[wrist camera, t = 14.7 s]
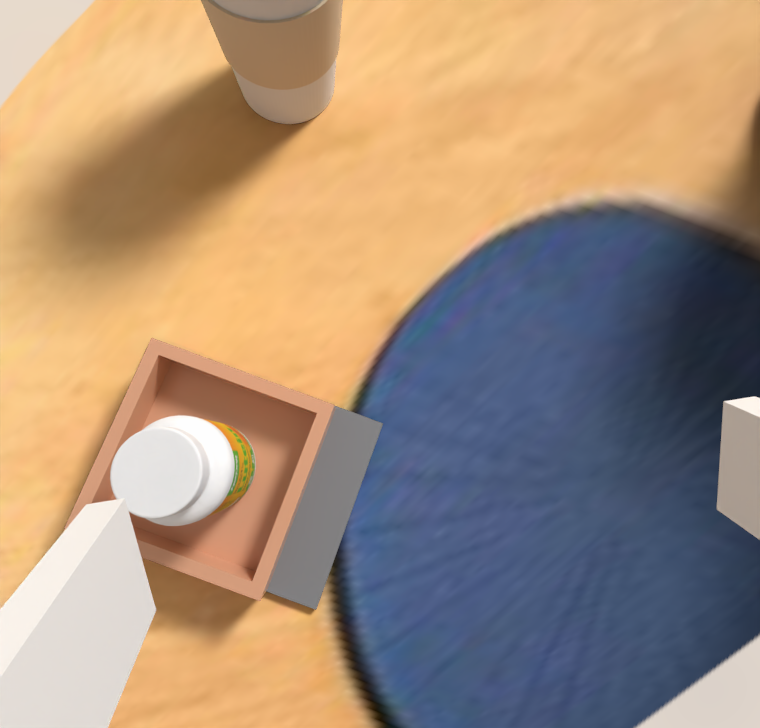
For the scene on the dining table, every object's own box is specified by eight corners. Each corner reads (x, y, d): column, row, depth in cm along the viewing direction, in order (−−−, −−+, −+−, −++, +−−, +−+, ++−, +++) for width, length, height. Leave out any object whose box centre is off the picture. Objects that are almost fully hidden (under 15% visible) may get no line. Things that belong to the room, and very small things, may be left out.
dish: (335, 409, 34) (334, 405, 31) (267, 588, 32) (259, 601, 29) (168, 347, 34) (151, 337, 31) (89, 522, 32) (63, 528, 29)
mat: (382, 423, 34) (382, 423, 34) (316, 608, 32) (316, 609, 32) (154, 339, 35) (152, 338, 34) (72, 517, 32) (69, 518, 32)
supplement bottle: (267, 494, 32) (233, 512, 23) (181, 523, 32) (108, 554, 22) (244, 411, 33) (200, 394, 24) (159, 437, 33) (79, 432, 23)
